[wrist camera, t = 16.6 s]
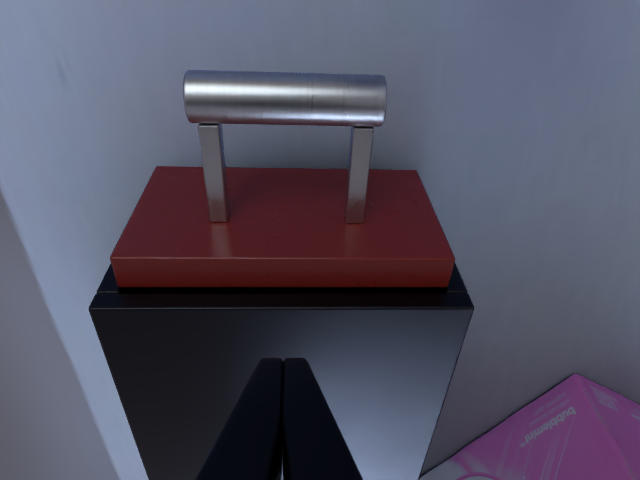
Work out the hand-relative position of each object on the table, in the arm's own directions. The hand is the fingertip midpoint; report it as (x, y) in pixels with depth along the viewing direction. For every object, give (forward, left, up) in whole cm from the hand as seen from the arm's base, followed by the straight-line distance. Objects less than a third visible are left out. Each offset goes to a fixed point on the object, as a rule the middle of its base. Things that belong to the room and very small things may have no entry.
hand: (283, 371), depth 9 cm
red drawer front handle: (+1, +5, -11) cm, 12 cm away
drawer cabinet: (+3, +9, -12) cm, 15 cm away
